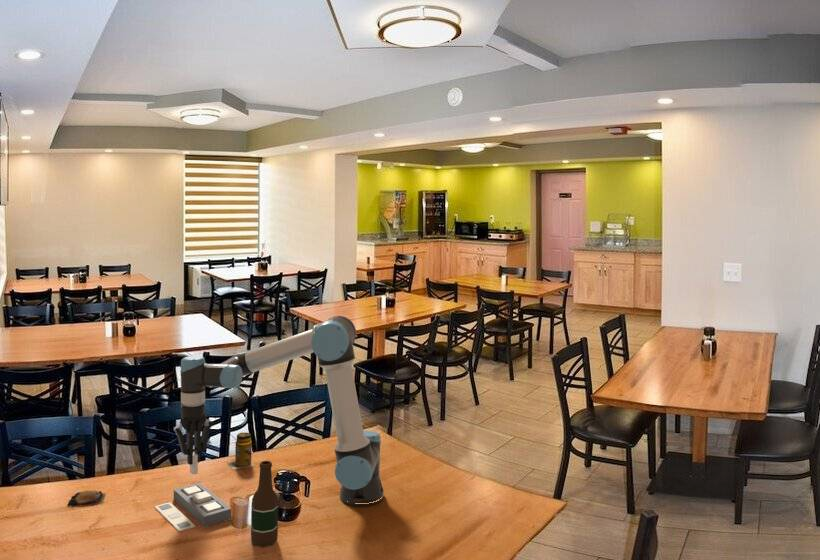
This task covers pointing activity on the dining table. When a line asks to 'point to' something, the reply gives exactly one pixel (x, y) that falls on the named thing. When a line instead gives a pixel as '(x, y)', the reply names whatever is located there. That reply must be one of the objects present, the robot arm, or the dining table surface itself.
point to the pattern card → (175, 516)
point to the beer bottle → (264, 509)
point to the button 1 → (191, 490)
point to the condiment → (242, 452)
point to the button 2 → (211, 507)
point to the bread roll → (87, 498)
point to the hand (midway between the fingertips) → (193, 472)
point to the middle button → (201, 497)
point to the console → (196, 509)
